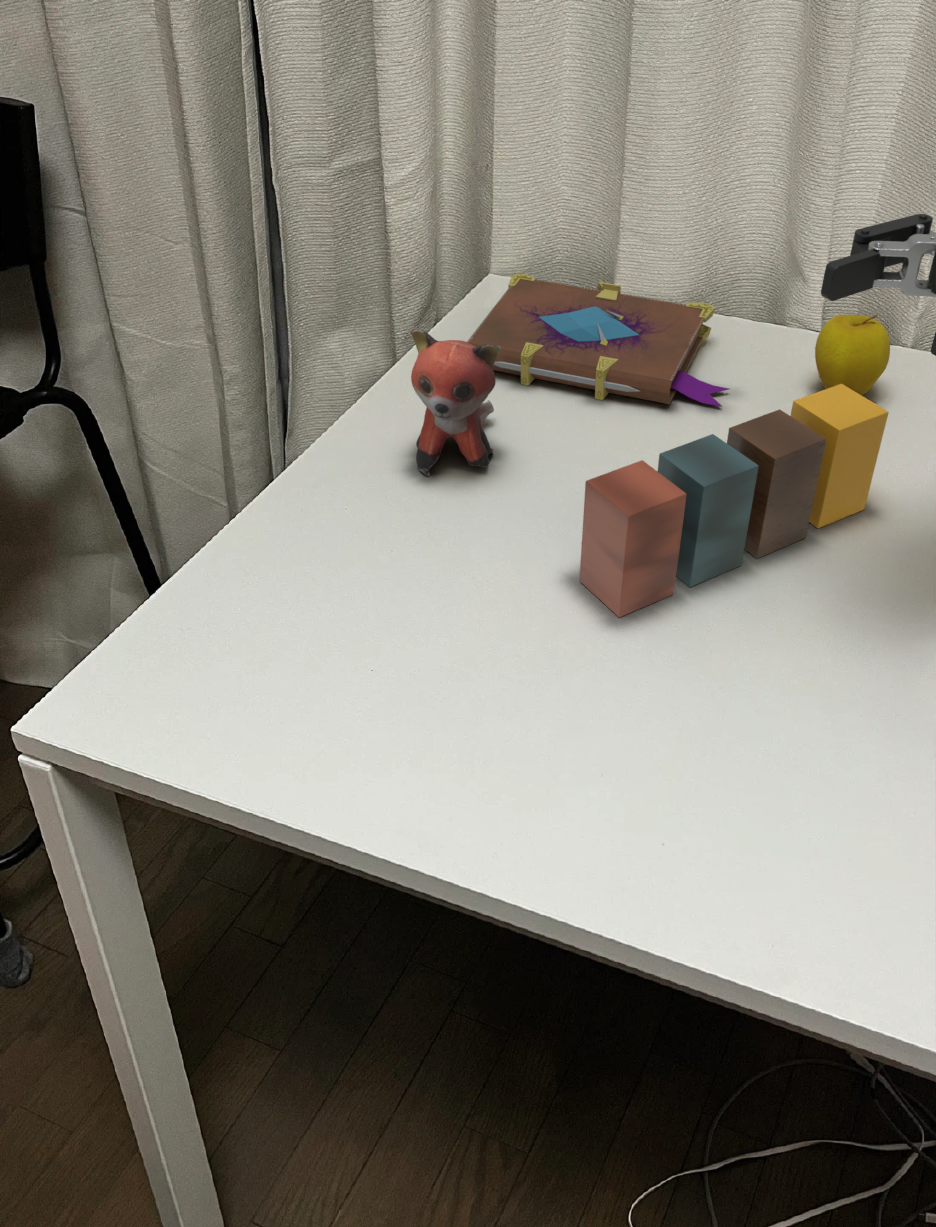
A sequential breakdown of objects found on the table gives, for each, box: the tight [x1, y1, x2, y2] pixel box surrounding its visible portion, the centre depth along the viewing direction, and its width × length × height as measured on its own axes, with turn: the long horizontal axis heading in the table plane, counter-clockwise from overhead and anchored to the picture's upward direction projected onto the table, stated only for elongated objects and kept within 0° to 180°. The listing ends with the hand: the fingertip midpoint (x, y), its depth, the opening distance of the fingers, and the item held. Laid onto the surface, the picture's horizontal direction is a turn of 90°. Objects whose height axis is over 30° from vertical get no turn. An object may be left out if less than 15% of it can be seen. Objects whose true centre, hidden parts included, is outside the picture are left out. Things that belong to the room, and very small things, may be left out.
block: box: [790, 384, 889, 529], centre depth 93 cm, size 5×5×9 cm
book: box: [466, 273, 730, 408], centre depth 114 cm, size 16×25×5 cm, turn 67°
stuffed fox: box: [410, 329, 501, 477], centre depth 99 cm, size 8×11×12 cm
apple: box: [814, 313, 891, 396], centre depth 107 cm, size 6×6×8 cm
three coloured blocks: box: [578, 409, 827, 618], centre depth 88 cm, size 18×5×9 cm, turn 121°
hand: (880, 310), depth 68 cm, fingers open, 8 cm apart
